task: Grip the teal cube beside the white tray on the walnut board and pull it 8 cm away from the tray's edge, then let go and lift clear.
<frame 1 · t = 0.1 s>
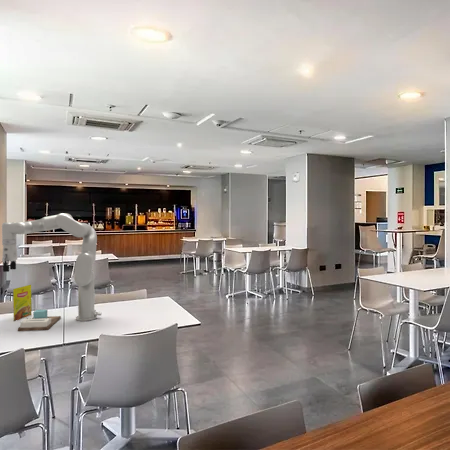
hand: (9, 270, 228), 31 cm above the table, tool pointing down, fingers open, 9 cm apart
white tray: (36, 325, 215), resting on board
teal cube: (40, 316, 222), point 5 cm above the table, slide at 0.0 cm
food package: (22, 318, 235), on the table
board: (40, 324, 222), on the table
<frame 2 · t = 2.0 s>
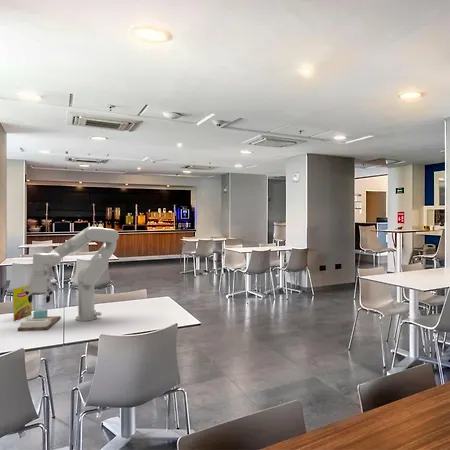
hand: (39, 302, 221), 13 cm above the table, tool pointing down, fingers open, 9 cm apart
nothing on the table moved.
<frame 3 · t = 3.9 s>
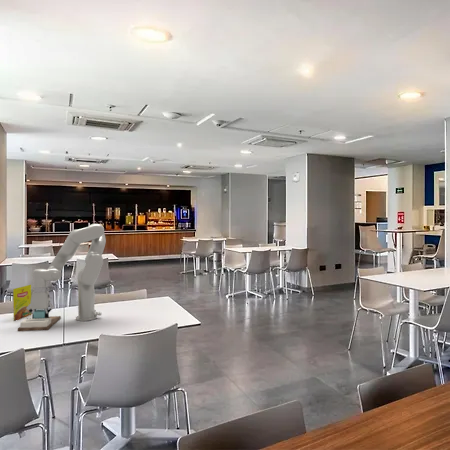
hand: (40, 319, 222), 3 cm above the table, tool pointing down, fingers closed on teal cube, 6 cm apart
teal cube: (40, 316, 222), point 5 cm above the table, slide at 0.0 cm, touching gripper
everything else where it was.
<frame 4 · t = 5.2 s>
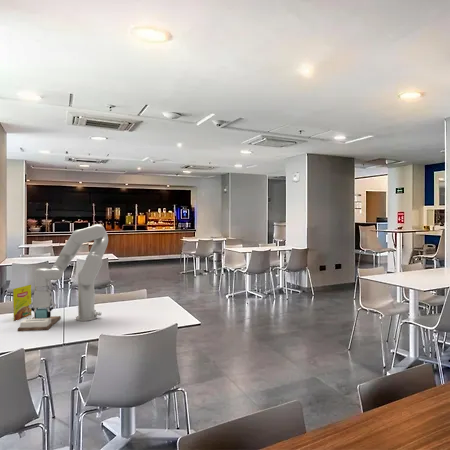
hand: (42, 318, 225), 3 cm above the table, tool pointing down, fingers closed on teal cube, 6 cm apart
teal cube: (42, 314, 225), point 5 cm above the table, slide at 3.5 cm, touching gripper
everything else where it was.
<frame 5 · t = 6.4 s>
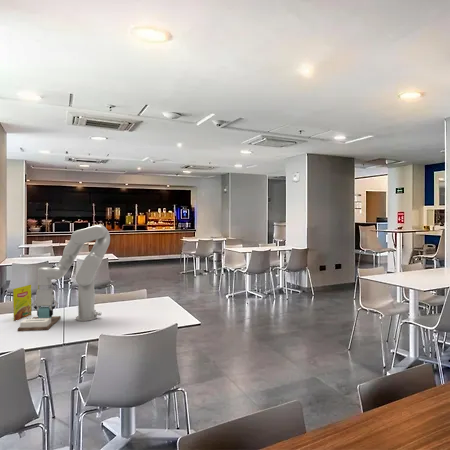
hand: (45, 316, 229), 3 cm above the table, tool pointing down, fingers closed on teal cube, 6 cm apart
teal cube: (45, 312, 229), point 5 cm above the table, slide at 7.8 cm, touching gripper
everything else where it was.
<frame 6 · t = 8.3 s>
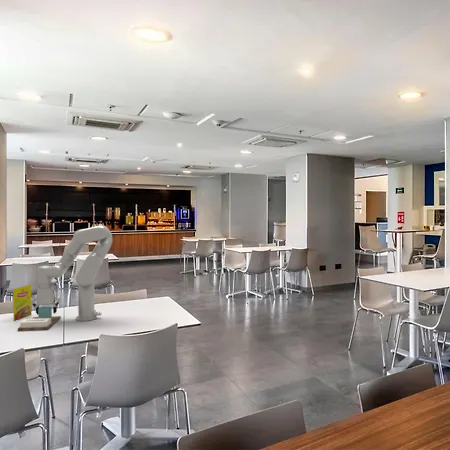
hand: (46, 313, 230), 4 cm above the table, tool pointing down, fingers open, 9 cm apart
teal cube: (45, 312, 229), point 5 cm above the table, slide at 7.8 cm
everything else where it was.
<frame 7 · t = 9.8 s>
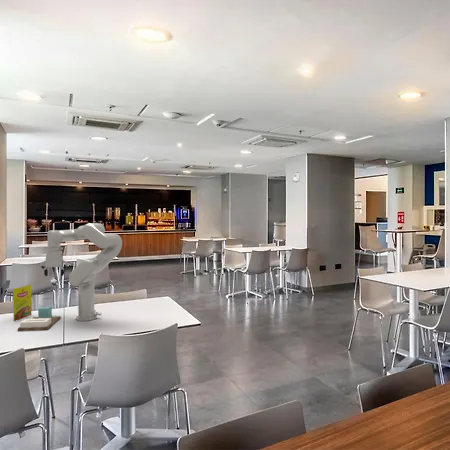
hand: (54, 275, 242), 26 cm above the table, tool pointing down, fingers open, 9 cm apart
nothing on the table moved.
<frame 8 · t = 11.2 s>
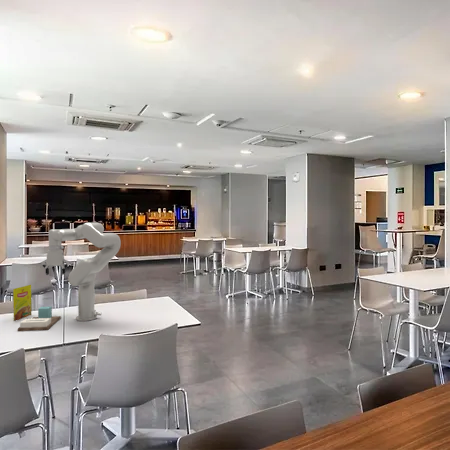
hand: (55, 274, 243), 26 cm above the table, tool pointing down, fingers open, 9 cm apart
nothing on the table moved.
at the end: teal cube slide at 7.8 cm; the gripper is holding nothing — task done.
